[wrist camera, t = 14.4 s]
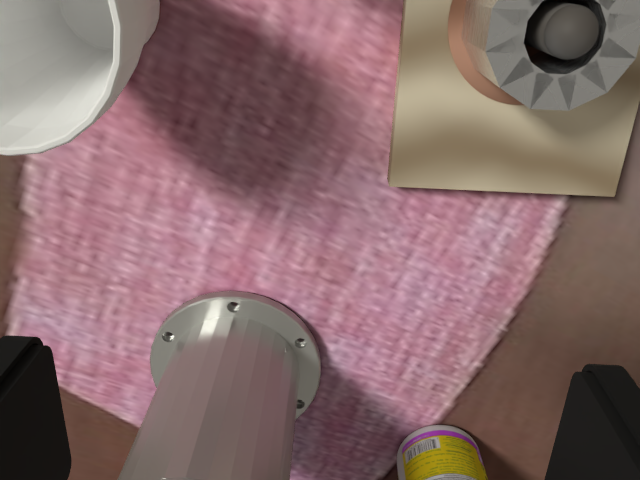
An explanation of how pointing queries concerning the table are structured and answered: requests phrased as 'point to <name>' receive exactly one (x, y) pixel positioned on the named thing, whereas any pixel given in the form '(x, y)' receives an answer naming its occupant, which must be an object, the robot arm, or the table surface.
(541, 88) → the steel collar
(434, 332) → the table surface
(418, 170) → the hub board
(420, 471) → the supplement bottle
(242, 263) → the table surface
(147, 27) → the cup
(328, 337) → the table surface
